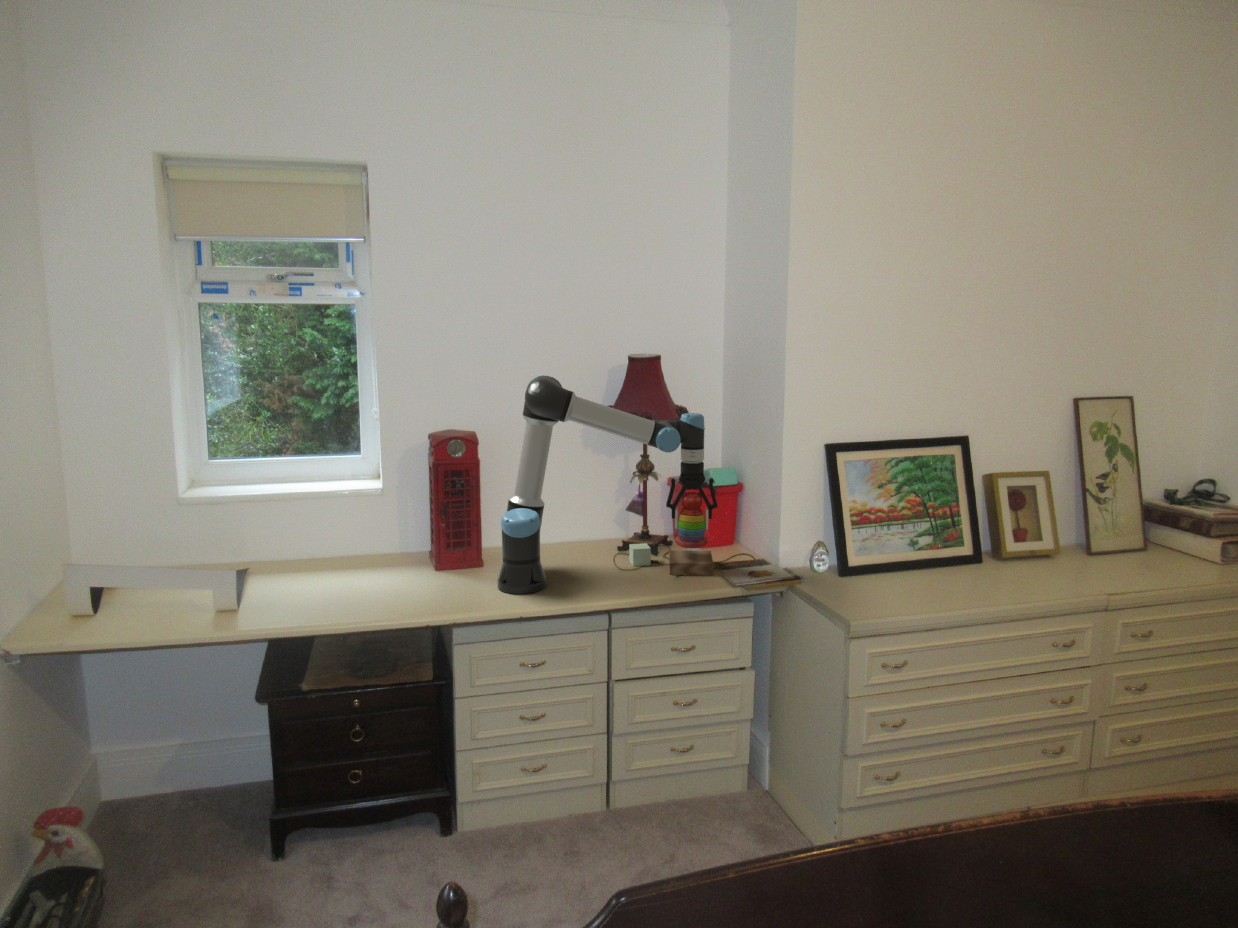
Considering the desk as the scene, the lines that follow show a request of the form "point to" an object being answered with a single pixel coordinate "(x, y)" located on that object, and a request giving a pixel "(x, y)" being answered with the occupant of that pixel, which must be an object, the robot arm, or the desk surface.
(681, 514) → the stacking bear
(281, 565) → the desk surface
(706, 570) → the base slab
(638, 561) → the block
